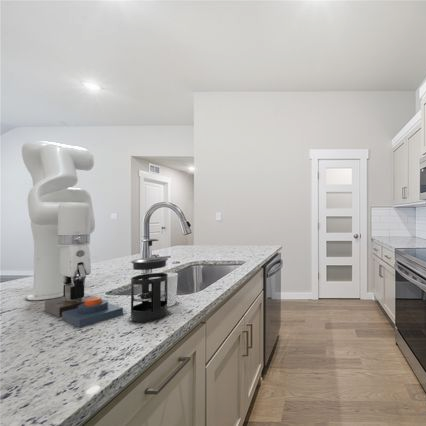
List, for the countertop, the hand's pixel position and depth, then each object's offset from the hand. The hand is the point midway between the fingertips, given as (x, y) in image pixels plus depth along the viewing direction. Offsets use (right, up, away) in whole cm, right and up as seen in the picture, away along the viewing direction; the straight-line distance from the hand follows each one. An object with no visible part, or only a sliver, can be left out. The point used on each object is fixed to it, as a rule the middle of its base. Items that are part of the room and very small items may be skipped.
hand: (73, 296), depth 81 cm
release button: (+12, 0, -7) cm, 14 cm away
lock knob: (0, -1, 0) cm, 1 cm away
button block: (+12, -4, -7) cm, 15 cm away
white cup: (+27, -4, +4) cm, 28 cm away
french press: (+29, -4, -7) cm, 30 cm away
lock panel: (0, -4, 0) cm, 4 cm away
